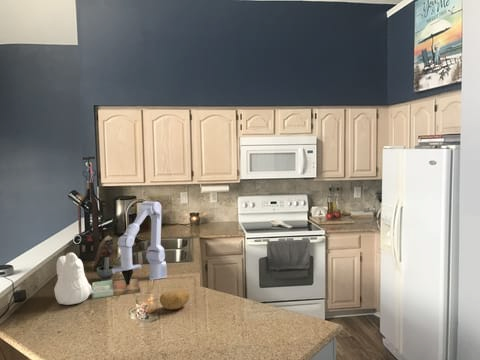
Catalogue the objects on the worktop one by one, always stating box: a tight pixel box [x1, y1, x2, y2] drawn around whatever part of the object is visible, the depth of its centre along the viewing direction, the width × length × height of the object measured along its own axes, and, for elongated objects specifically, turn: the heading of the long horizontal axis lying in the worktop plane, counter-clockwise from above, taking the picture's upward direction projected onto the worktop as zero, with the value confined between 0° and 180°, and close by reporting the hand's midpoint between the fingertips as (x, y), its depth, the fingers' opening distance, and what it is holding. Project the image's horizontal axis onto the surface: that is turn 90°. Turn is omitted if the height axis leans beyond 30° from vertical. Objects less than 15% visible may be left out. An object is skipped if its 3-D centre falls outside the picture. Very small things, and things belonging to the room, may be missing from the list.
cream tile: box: [95, 285, 105, 292], centre depth 196 cm, size 4×4×2 cm
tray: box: [91, 279, 115, 300], centre depth 197 cm, size 10×17×3 cm, turn 20°
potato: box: [159, 289, 191, 311], centre depth 173 cm, size 10×14×8 cm
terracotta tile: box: [116, 280, 126, 289], centre depth 198 cm, size 4×4×2 cm
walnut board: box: [112, 278, 141, 297], centre depth 201 cm, size 13×17×2 cm
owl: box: [92, 234, 116, 270], centre depth 237 cm, size 13×13×20 cm
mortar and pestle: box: [96, 257, 116, 282], centre depth 217 cm, size 11×9×12 cm
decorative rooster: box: [53, 251, 92, 306], centre depth 186 cm, size 25×16×25 cm, turn 34°
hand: (127, 284), depth 199 cm, fingers closed
